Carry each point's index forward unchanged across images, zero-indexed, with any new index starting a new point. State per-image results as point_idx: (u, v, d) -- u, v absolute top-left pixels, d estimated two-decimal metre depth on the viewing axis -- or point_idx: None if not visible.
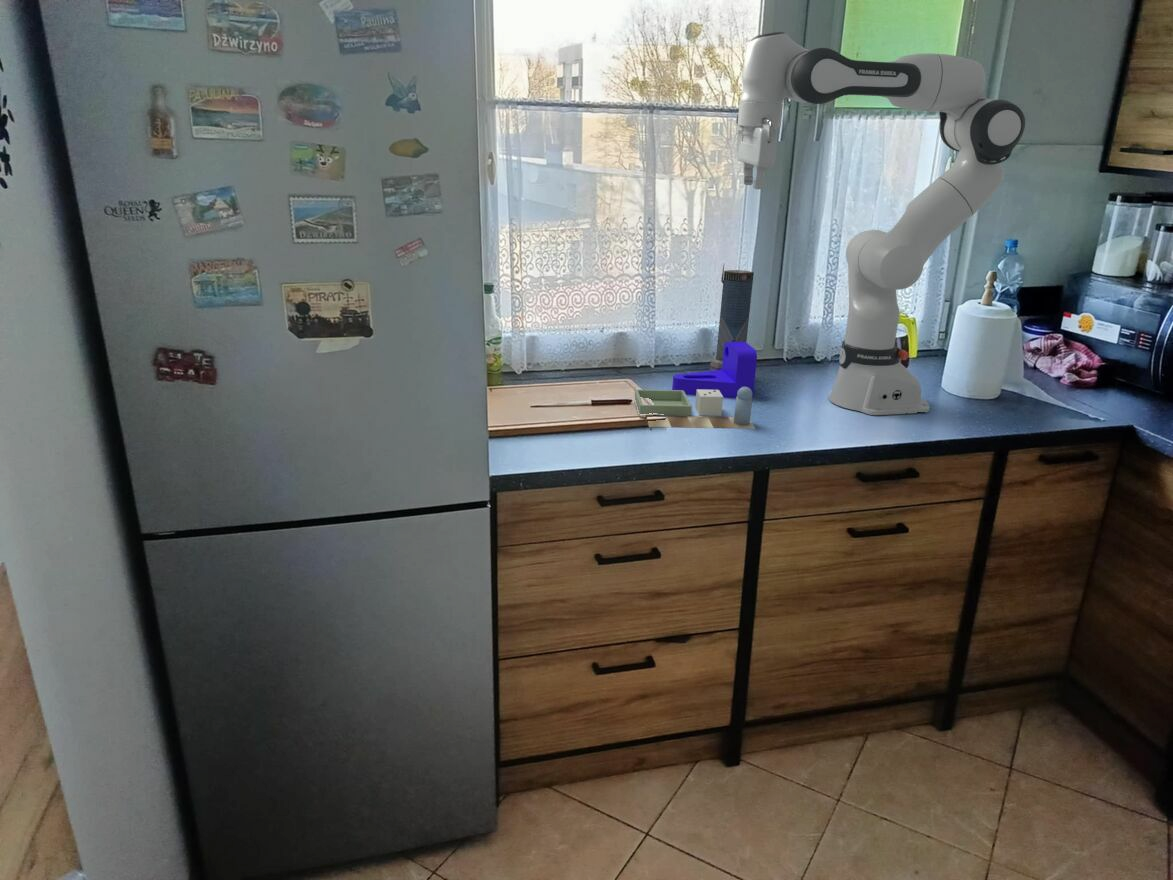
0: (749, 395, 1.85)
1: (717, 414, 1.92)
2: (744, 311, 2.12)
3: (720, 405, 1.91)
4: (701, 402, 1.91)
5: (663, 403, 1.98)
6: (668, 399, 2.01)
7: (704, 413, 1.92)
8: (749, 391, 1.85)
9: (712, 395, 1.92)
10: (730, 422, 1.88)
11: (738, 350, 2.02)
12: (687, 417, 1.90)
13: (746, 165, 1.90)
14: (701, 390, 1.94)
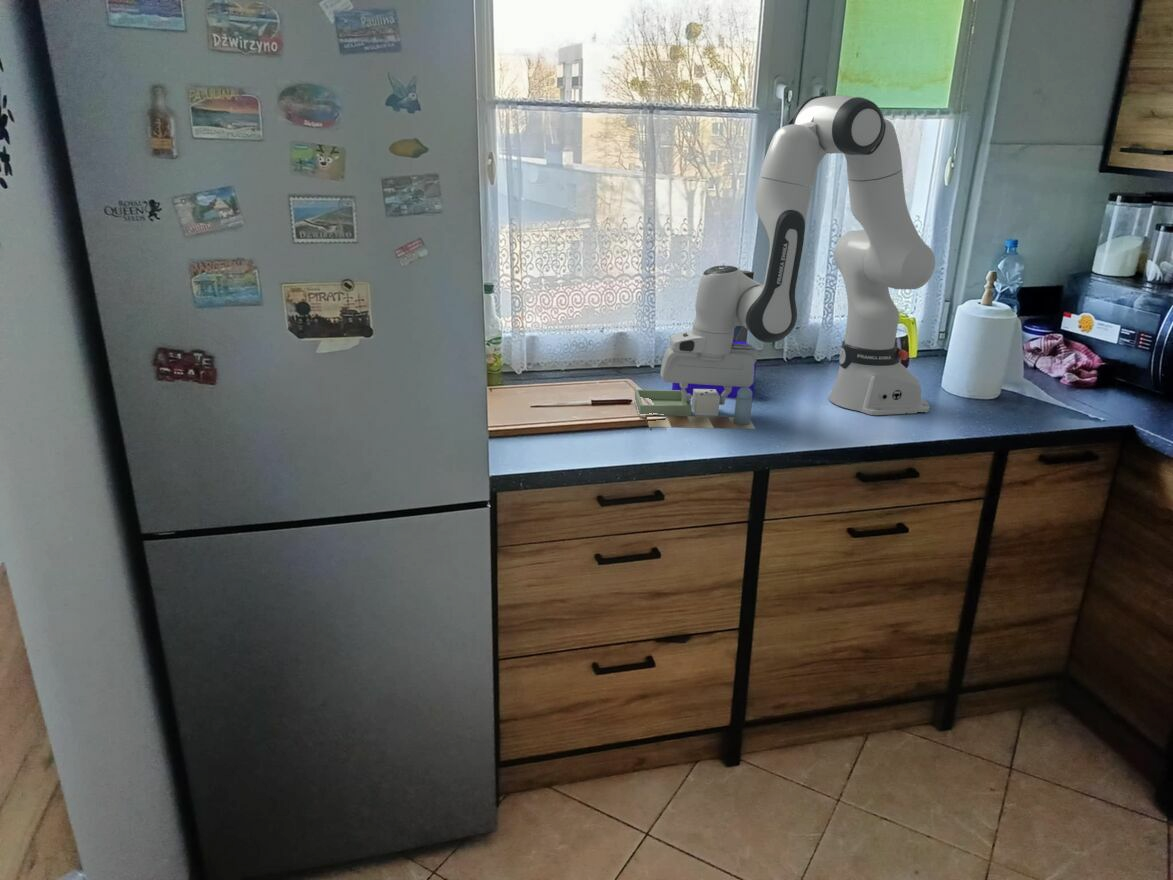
0: (749, 395, 1.85)
1: (714, 414, 1.92)
2: None
3: (717, 405, 1.91)
4: (698, 402, 1.91)
5: (663, 403, 1.98)
6: (668, 399, 2.01)
7: (701, 412, 1.92)
8: (749, 391, 1.85)
9: (709, 394, 1.92)
10: (730, 422, 1.88)
11: None
12: (687, 417, 1.90)
13: None
14: (698, 390, 1.94)
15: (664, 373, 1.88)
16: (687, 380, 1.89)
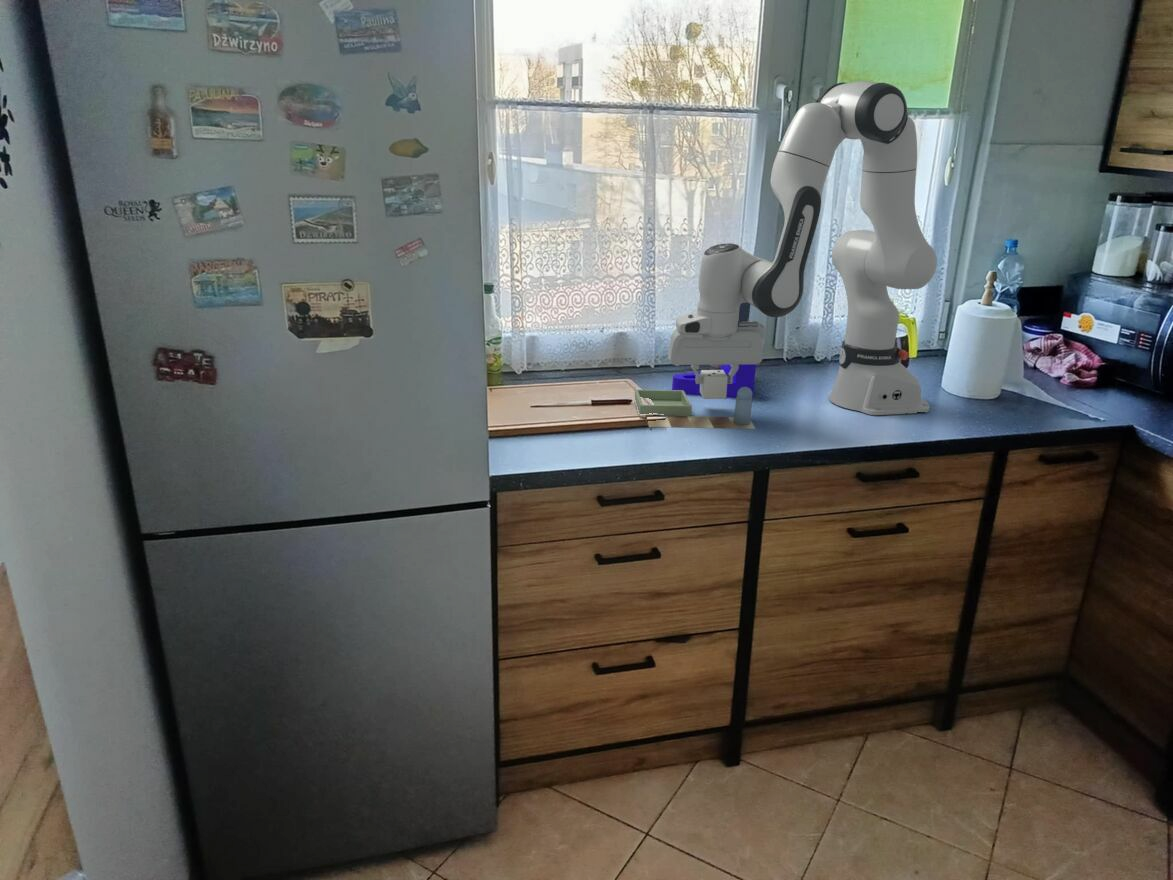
0: (749, 395, 1.85)
1: (722, 394, 1.91)
2: (744, 311, 2.12)
3: (725, 385, 1.91)
4: (705, 383, 1.90)
5: (663, 403, 1.98)
6: (668, 399, 2.01)
7: (709, 393, 1.91)
8: (749, 391, 1.85)
9: (716, 375, 1.91)
10: (730, 422, 1.88)
11: None
12: (687, 417, 1.90)
13: (698, 366, 1.91)
14: (705, 371, 1.94)
15: (672, 356, 1.88)
16: (695, 361, 1.89)
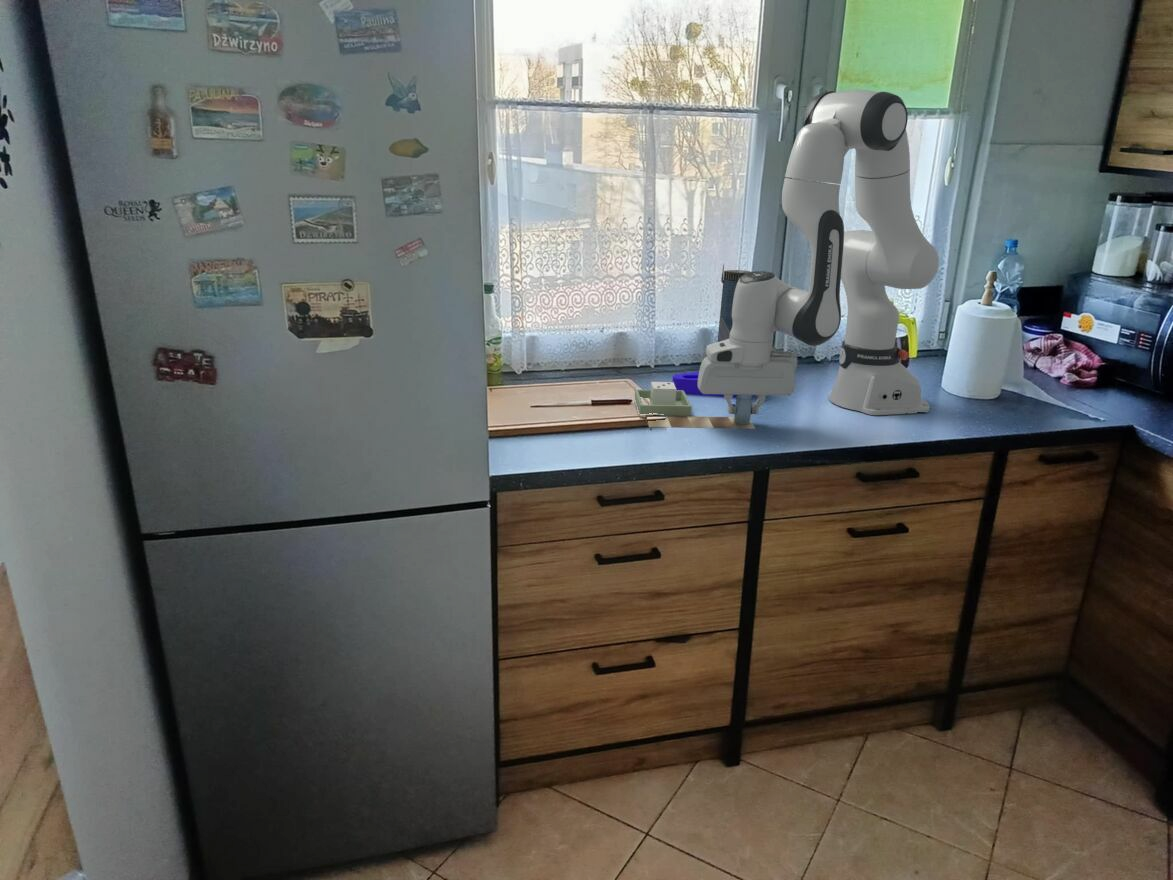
0: (749, 395, 1.85)
1: None
2: None
3: (673, 397, 1.93)
4: (654, 394, 1.93)
5: None
6: None
7: None
8: None
9: (665, 387, 1.93)
10: (730, 422, 1.88)
11: None
12: (687, 417, 1.90)
13: None
14: (655, 382, 1.96)
15: (702, 385, 1.83)
16: (725, 391, 1.84)
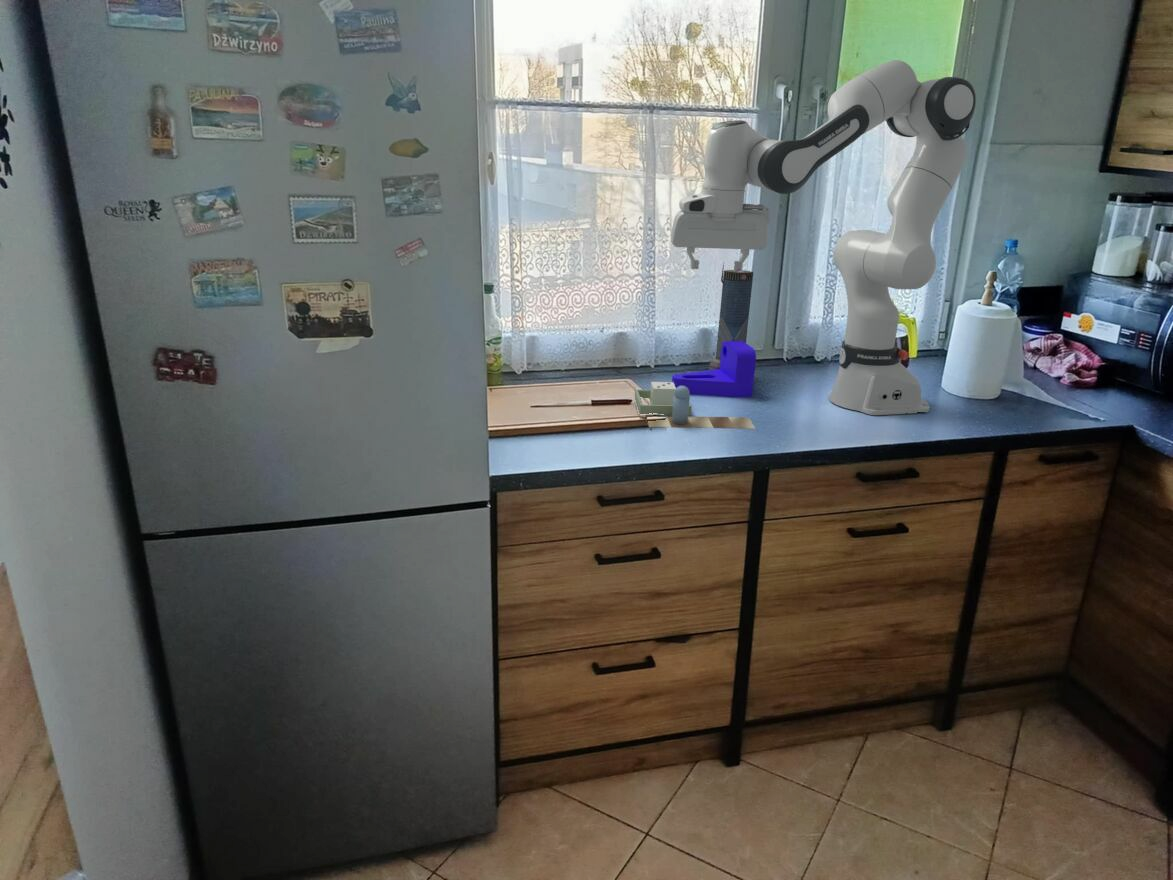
0: (686, 394, 1.84)
1: None
2: (743, 311, 2.13)
3: (673, 397, 1.93)
4: (654, 394, 1.93)
5: None
6: None
7: None
8: (686, 390, 1.84)
9: (665, 387, 1.93)
10: (730, 422, 1.88)
11: (737, 349, 2.02)
12: None
13: None
14: (655, 382, 1.96)
15: (674, 237, 1.83)
16: (698, 244, 1.84)
